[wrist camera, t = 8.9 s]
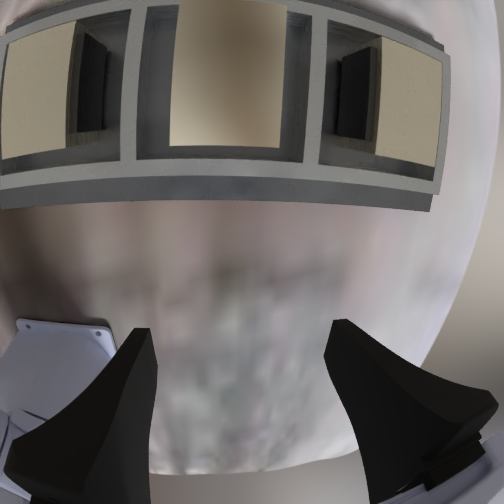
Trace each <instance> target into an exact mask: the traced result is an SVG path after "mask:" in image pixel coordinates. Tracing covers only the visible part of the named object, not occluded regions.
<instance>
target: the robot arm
mask: <svg viewBox="0 0 504 504" xmlns="http://www.w3.org/2000/svg"><path fill="white" fill-rule="evenodd" d="M16 325H17V328H18V330H19V331H18V332H17V334H16V335H15V337H14V338H13V340H12V341H11V343H10V345H9V346H8V348H7V349H6V351H5V353H4V354H3V356H2V358H1V359H0V504H151V499H150V486H149V434H150V427H151V420H152V414H153V407H154V401H155V395H156V389H157V370H158V365H157V360H156V356H155V351H154V346H153V341H152V336H151V331H150V328H134V329H133V330H132V331H131V333H130V334H129V336H128V337H127V338H126V340H125V341H124V343H123V344H122V345H121V347H120V348H119V349H118V351H117V350H116V347H115V343H114V340H113V336H112V333H111V330H110V329H109V328H107V327H104V326H90V325H77V324H65V323H55V322H45V321H36V320H28V319H20V318H19V319H17V321H16ZM97 331H98V332H100V333H98V332H97ZM324 359H325V363H326V366H327V370H328V373H329V376H330V378H331V380H332V383H333V385H334V387H335V389H336V391H337V393H338V395H339V397H340V400H341V402H342V404H343V406H344V408H345V410H346V412H347V414H348V416H349V419H350V421H351V424H352V427H353V430H354V433H355V436H356V439H357V442H358V446H359V450H360V453H361V457H362V461H363V465H364V470H365V475H366V480H367V486H368V492H369V501H370V504H488V503H489V502H490V501H491V500H492V499H493V498H494V497H495V496H496V495H497V494H498V493H499V492H500V491H501V490H502V488H504V433H503V432H502V430H499V431H498V432H497V433H495V434H494V435H493V436H492V437H490V438H489V439H488V440H487V441H485V442H484V443H483V444H482V445H481V444H480V442H479V440H480V439H481V438H482V436H481V435H480V433H479V431H480V429H482V428H483V426H484V425H485V424H486V423H487V422H488V421H489V420H490V419H491V417H492V416H493V415H494V413H495V412H496V411H497V409H498V405H499V404H498V402H497V401H496V400H495V398H494V397H493V396H492V394H491V393H490V392H489V391H487V390H482V389H477V388H472V387H468V386H464V385H460V384H457V383H454V382H451V381H448V380H445V379H443V378H440V377H438V376H436V375H433V374H431V373H429V372H427V371H425V370H422V369H421V368H419V367H417V366H415V365H413V364H411V363H410V362H408V361H406V360H405V359H403V358H401V357H400V356H398V355H397V354H395V353H394V352H392V351H391V350H389V349H388V348H386V347H385V346H383V345H382V344H381V343H379V342H378V341H376V340H375V339H374V338H372V337H371V336H370V335H368V334H367V333H366V332H364V331H363V330H362V329H360V328H359V327H358V326H356V325H355V324H353V323H352V322H351V321H349V320H348V319H339V320H333V323H332V327H331V331H330V334H329V338H328V342H327V345H326V349H325V353H324Z"/></svg>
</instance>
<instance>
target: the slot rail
mask: <svg viewBox="0 0 504 504" xmlns="http://www.w3.org/2000/svg"><path fill="white" fill-rule="evenodd" d="M247 1H258V2H267V3H275V4H282V5H287V16H286V39H285V60H284V78H283V96H282V113H281V128H280V144H279V148H275V147H256V146H225V145H186V146H170V110H171V89H172V73H173V60H174V48H175V38H176V28H177V20H178V12H179V4H180V0H77V1H73V2H70V3H66V4H63V5H60V6H57V7H54V8H51V9H48V10H45V11H43V12H40V13H37V14H35V15H32V16H30V17H27V18H25V19H22V20H20V21H18V22H15V23H13V24H11V25H9V26H7V27H6V32H5V34H4V35H2V36H0V208H1V210H4V209H14V208H24V207H36V206H48V205H61V204H77V203H95V202H117V201H149V200H250V201H283V202H306V203H325V204H341V205H356V206H369V207H382V208H393V209H404V210H414V211H424V212H429V211H430V207H431V202H432V197H433V194H435V195H439V192H440V186H441V181H442V175H443V168H444V161H445V154H446V146H447V137H448V126H449V112H450V86H451V68H450V56H449V55H448V54H446V53H444V45H442V44H440V43H438V42H436V41H435V40H433V39H431V38H429V37H427V36H425V35H423V34H421V33H419V32H417V31H414V30H412V29H410V28H408V27H406V26H403V25H401V24H399V23H396V22H394V21H392V20H389V19H387V18H384V17H382V16H379V15H376V14H373V13H371V12H368V11H365V10H362V9H359V8H356V7H353V6H350V5H346V4H343V3H339V2H336V1H332V0H247Z"/></svg>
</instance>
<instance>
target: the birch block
mask: <svg viewBox="0 0 504 504" xmlns="http://www.w3.org/2000/svg"><path fill="white" fill-rule="evenodd" d="M286 16H287V5H282V4H275V3H267V2H258V1H247V0H180V4H179V12H178V20H177V28H176V38H175V48H174V60H173V73H172V89H171V110H170V146H186V145H225V146H256V147H275V148H279V144H280V128H281V113H282V96H283V78H284V60H285V39H286Z"/></svg>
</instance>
